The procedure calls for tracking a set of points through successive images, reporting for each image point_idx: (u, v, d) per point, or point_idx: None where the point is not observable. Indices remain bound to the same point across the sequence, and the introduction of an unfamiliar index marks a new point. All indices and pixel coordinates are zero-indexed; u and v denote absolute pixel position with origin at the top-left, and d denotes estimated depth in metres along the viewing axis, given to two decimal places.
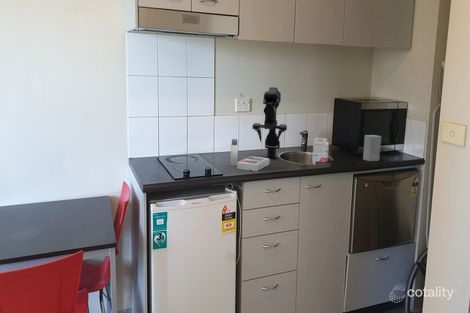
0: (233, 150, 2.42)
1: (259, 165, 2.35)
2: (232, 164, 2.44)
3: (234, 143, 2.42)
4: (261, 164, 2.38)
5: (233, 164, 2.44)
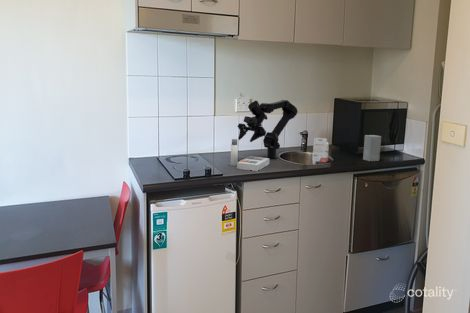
0: (233, 150, 2.42)
1: (259, 165, 2.35)
2: (232, 164, 2.44)
3: (234, 143, 2.42)
4: (261, 164, 2.38)
5: (233, 164, 2.44)
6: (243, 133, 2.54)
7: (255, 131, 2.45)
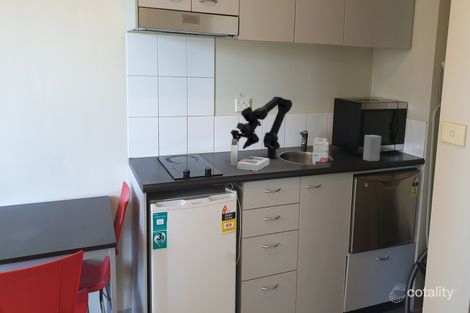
0: (233, 150, 2.42)
1: (259, 165, 2.35)
2: (232, 164, 2.44)
3: (234, 143, 2.42)
4: (261, 164, 2.38)
5: (233, 164, 2.44)
6: None
7: (248, 138, 2.42)
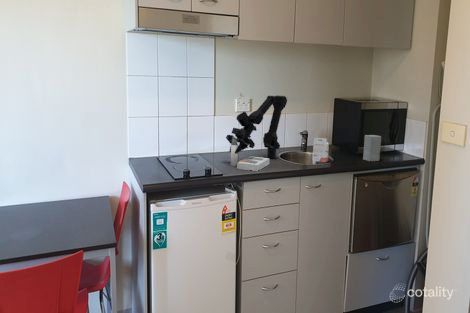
0: (233, 150, 2.42)
1: (259, 165, 2.35)
2: (232, 164, 2.44)
3: (234, 143, 2.42)
4: (261, 164, 2.38)
5: (233, 164, 2.44)
6: None
7: (240, 142, 2.42)
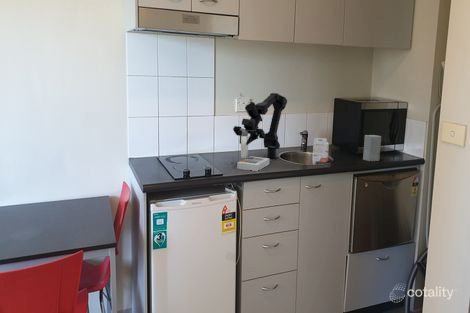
0: (244, 141, 2.37)
1: (259, 165, 2.35)
2: (243, 156, 2.39)
3: (245, 134, 2.37)
4: (261, 164, 2.38)
5: (244, 156, 2.39)
6: None
7: (251, 133, 2.37)
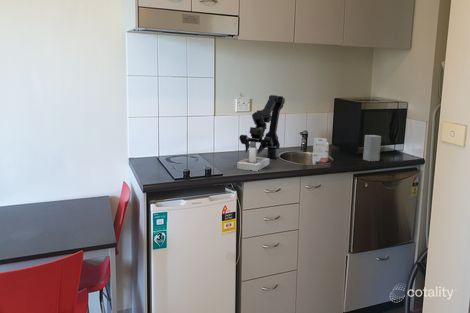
0: (253, 153, 2.36)
1: (259, 165, 2.35)
2: None
3: (254, 145, 2.36)
4: (261, 164, 2.38)
5: None
6: (248, 145, 2.41)
7: (262, 142, 2.36)
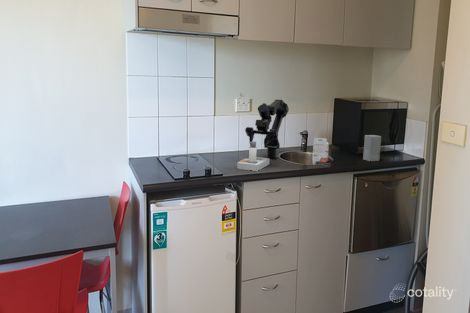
0: (253, 153, 2.36)
1: (259, 165, 2.35)
2: None
3: (254, 145, 2.36)
4: (261, 164, 2.38)
5: None
6: (252, 137, 2.48)
7: (269, 134, 2.42)
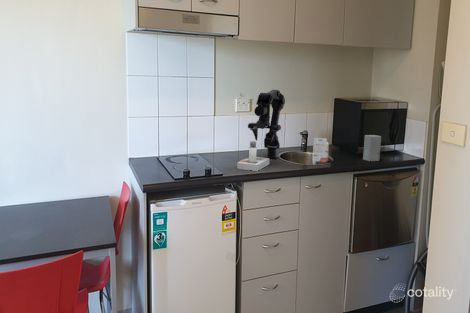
0: (253, 153, 2.36)
1: (259, 165, 2.35)
2: None
3: (254, 145, 2.36)
4: (261, 164, 2.38)
5: None
6: (256, 131, 2.53)
7: (272, 132, 2.46)
